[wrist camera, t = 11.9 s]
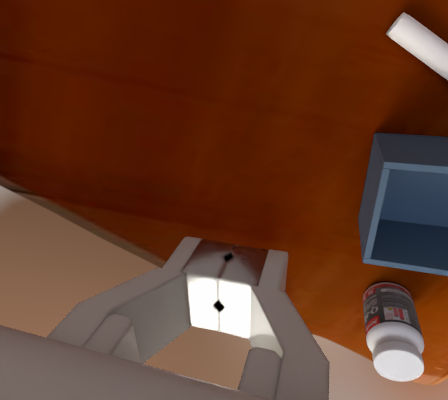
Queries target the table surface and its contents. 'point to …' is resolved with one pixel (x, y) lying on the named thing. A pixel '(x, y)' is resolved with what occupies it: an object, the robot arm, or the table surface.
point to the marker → (421, 43)
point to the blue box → (406, 203)
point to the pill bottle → (393, 332)
